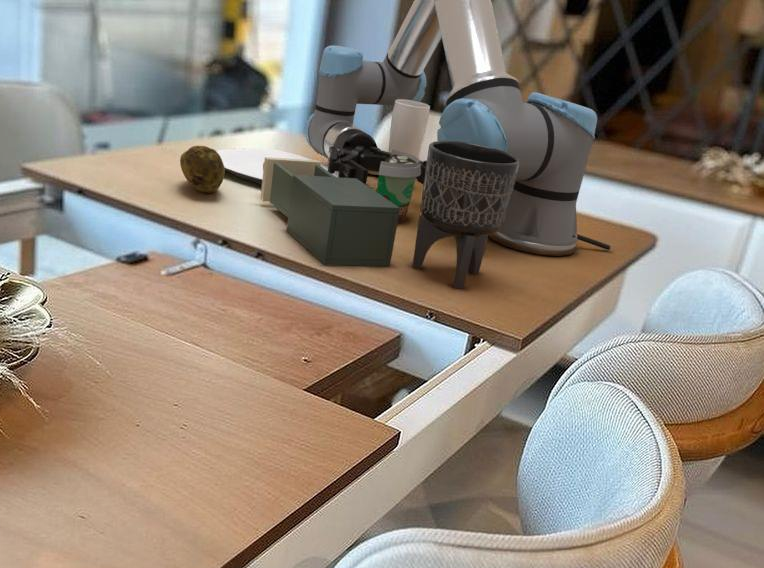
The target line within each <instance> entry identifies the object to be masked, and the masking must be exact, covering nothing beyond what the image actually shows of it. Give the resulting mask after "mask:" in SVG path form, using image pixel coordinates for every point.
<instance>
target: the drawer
mask: <svg viewBox="0 0 764 568" xmlns="http://www.w3.org/2000/svg"><path fill="white" fill-rule="evenodd" d="M321 163H322V162H321V161H320V160H315V159H312V160H302V159H287V158H271V157H265V161H264V163H263V180H262V184H261V189H260V190H261V191H260V201H262V202H269V203H270V204H271V205H272V206H274V208H276V209H277V210H278V211H279V212H280V213H282V214H283V215H284V216H285V217H286V218H288V214H289V206H290V198H291V190H292V181H293V175H305V176H322V177H335V176H334V175H333V174H331V173H330V172H328V171H327V170H325V169H324V168H323V167H321V166H320V164H321Z"/></svg>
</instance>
